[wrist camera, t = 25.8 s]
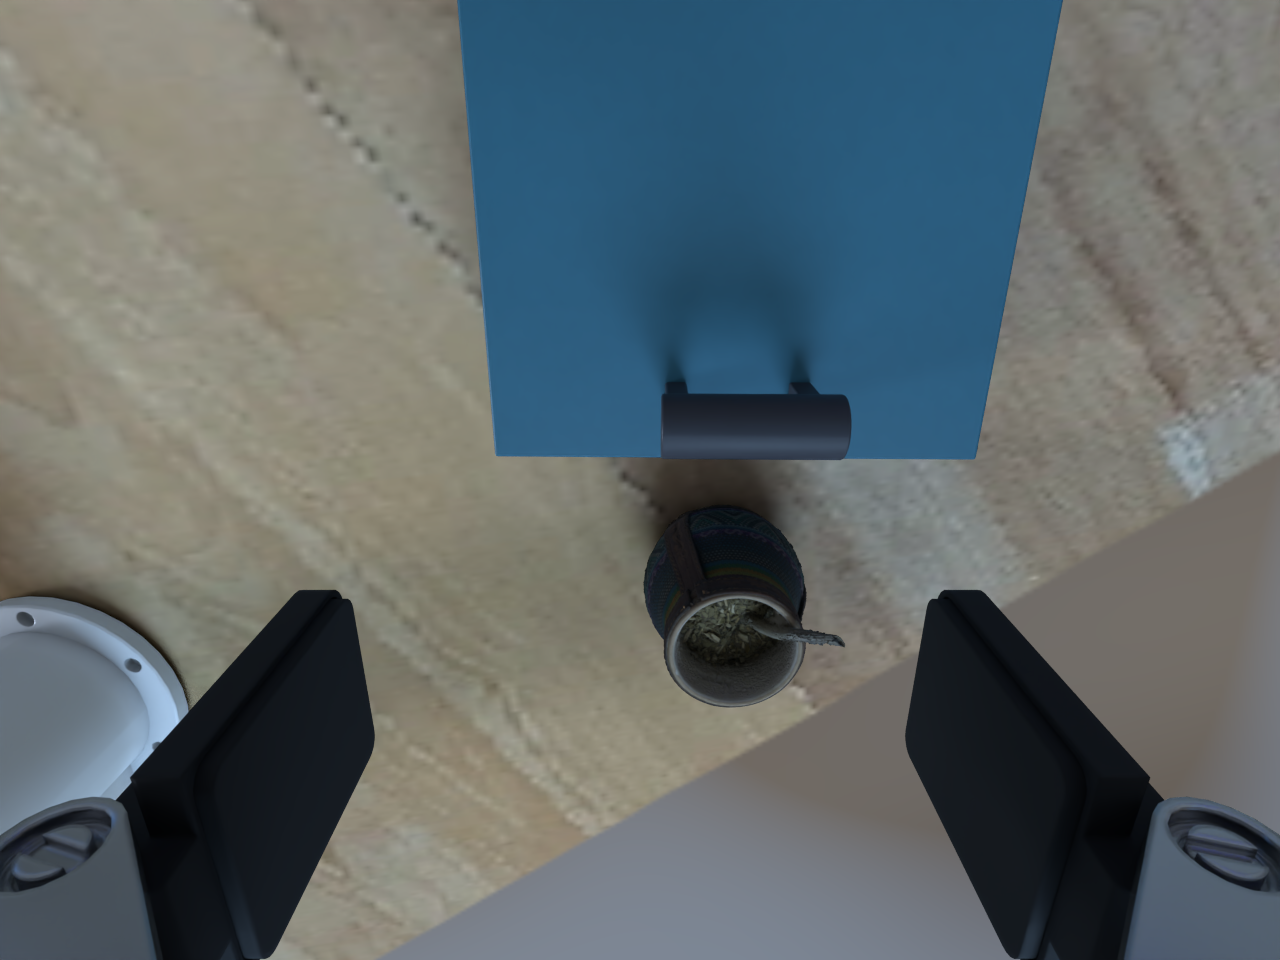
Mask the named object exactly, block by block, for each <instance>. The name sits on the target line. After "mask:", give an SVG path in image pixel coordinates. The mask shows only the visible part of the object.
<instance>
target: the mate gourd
mask: <svg viewBox="0 0 1280 960" xmlns="http://www.w3.org/2000/svg"><path fill="white" fill-rule="evenodd" d="M668 526H669V527H668V528H667V529H666V530H665V533H664V534H663V536H662V537H661V538H660V540H659V541H658V543H657V544H656V546H655V548H654V550H653V551H652V553H651V555H650V557H649V560H648V562H647V568H646V570H645V577H644V593H645V599H646V600H645V603H646V607H647V610H648V613H649V615H650V618H651V619H652V623H653V624H654V626H655V628H656V630H657V631H658V633H659V634H660V635H661V637H662V638H663V639H664V659H665V660H666V661H665V663H666V666H667V669H668V671H669V673H670V675H671V677H672V678H673V680H674V681H675V682H676V683H677V685H678V686H679V687H680V688H681V689H682V690H683V691H684V692H686V693H687V694H689V695H690V696H692V697H693V698H695V699H697V700H699V701H701V702H704V703H707V704H709V705H713V706H719V707H742V706H748V705H752V704H756V703H759V702H762V701H764V700H766V699H768V698H770V697H772V696H773V695H775V694H777V693H778V692H780V691H781V690H782V689H783V688H784V687H785V686H786V685H787V684H788V683H789V682H790V681H791V680H792V679H793V677H794V676H795V675H796V673H797V672H798V670H799V668H800V666H801V664H802V662H803V658H804V654H805V649H806V648H805V646H806V645H805V644H806V643H805V642H808V643H809V644H817V643H818V644H819V645H822V646H823V644H825V643H827V644H829V645H835V646H842V647H845V643H844V642H843V640H842V639H841V638H840V637H839V636H837V635H831V634H825V633H819V631H816V632H815V631H812V630H804V629H803V627H802V623H801V621H802V615H803V611H804V609H805V604H806V588H805V584H804V576H803V573H802V569H801V567H802V566H801V564H800V563H799V560H798V558H797V555H796V552H795V551H794V549H793V546H792V545H791V544H790V543H789V542H788V541H787V539H786V538H785V537H784V535H783V534H782V533H781V531H780V530H779V529H777V528H776V527H774V526H773V525H772V524H771V523H769V522H768V521H767V520H765V519H764V518H762V517H761V516H760V515H758V514H756V513H754V512H752V511H750V510H747V509H744V508H741V507H736V506H731V505H715V506H710V507H706V508H702V509H697V510H694V511H689V512H686V513H685V514H682V515H681V516H679V517H678V519H677V520H674V521H673V522H672V523H671V524H670V525H668Z"/></svg>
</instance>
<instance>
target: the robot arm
mask: <svg viewBox="0 0 1280 960" xmlns="http://www.w3.org/2000/svg"><path fill="white" fill-rule="evenodd" d="M905 739H906V747H907V751H908V754H909V757H910V759H911V761H912V763H913V765H914V767H915V769H916V771H917V773H918V775H919V777H920V779H921V781H922V783H923V785H924V787H925V789H926V791H927V793H928V795H929V797H930V799H931V801H932V803H933V805H934V807H935V809H936V812H937V814H938V816H939V818H940V820H941V822H942V824H943V826H944V828H945V830H946V832H947V834H948V836H949V838H950V840H951V842H952V844H953V846H954V848H955V850H956V852H957V854H958V856H959V858H960V860H961V862H962V864H963V866H964V868H965V870H966V872H967V874H968V876H969V879H970V881H971V883H972V884H973V887H974V889H975V891H976V893H977V895H978V897H979V899H980V901H981V903H982V905H983V907H984V909H985V911H986V913H987V915H988V917H989V919H990V921H991V923H992V925H993V927H994V929H995V931H996V933H997V935H998V937H999V939H1000V941H1001V943H1002V946H1003V947H1004V949H1005V951H1006V952H1007V953H1008V955H1009V956H1010V957H1012V958H1014V959H1020V960H1280V835H1279V834H1277V833H1276V832H1274V831H1273V830H1271V829H1270V828H1268V827H1267V826H1265V825H1264V824H1262V823H1261V822H1259V821H1258V820H1256V819H1254V818H1252V817H1250V816H1248V815H1246V814H1244V813H1242V812H1240V811H1238V810H1236V809H1234V808H1231V807H1228V806H1225V805H1222V804H1219V803H1216V802H1213V801H1210V800H1206V799H1199V798H1192V797H1175V798H1169V799H1167V800H1164V799H1163V798H1162V797H1161V796H1160V795H1159V794H1158V793H1157V791H1156V790H1155V789H1154V788H1153V787H1152V786H1151V785H1150V784H1149V780H1150V777H1149V776H1148V774H1147V773H1146V772H1145V771H1144V770H1143V769H1142V768H1141V767H1140V766H1139V764H1138V763H1137V762H1136V761H1135V760H1134V759H1133V758H1132V757H1131V755H1130V754H1129V753H1128V752H1127V751H1126V750H1125V749H1124V748H1123V747H1122V745H1121V744H1120V743H1119V742H1118V741H1117V740H1116V739H1115V738H1114V737H1113V735H1112V734H1111V733H1110V732H1109V731H1108V730H1107V729H1106V728H1105V727H1104V725H1103V724H1102V723H1101V722H1100V721H1099V720H1098V719H1097V718H1096V717H1095V715H1094V714H1093V713H1092V712H1091V711H1090V710H1089V709H1088V708H1087V706H1086V705H1085V704H1084V703H1083V702H1082V701H1081V700H1080V699H1079V698H1078V696H1077V695H1076V694H1075V693H1074V692H1073V691H1072V690H1071V689H1070V688H1069V686H1068V685H1067V684H1066V683H1065V682H1064V681H1063V680H1062V679H1061V678H1060V676H1059V675H1058V674H1057V673H1056V672H1055V671H1054V670H1053V669H1052V668H1051V666H1050V665H1049V664H1048V663H1047V662H1046V661H1045V660H1044V659H1043V658H1042V656H1041V655H1040V654H1039V653H1038V652H1037V651H1036V650H1035V649H1034V647H1033V646H1032V645H1031V644H1030V643H1029V642H1028V641H1027V640H1026V639H1025V637H1024V636H1023V635H1022V634H1021V633H1020V632H1019V631H1018V630H1017V629H1016V627H1015V626H1014V625H1013V624H1012V623H1011V622H1010V621H1009V620H1008V619H1007V617H1006V616H1005V615H1004V614H1003V613H1002V612H1001V611H1000V610H999V608H998V607H997V606H996V605H995V604H994V603H993V602H992V601H991V600H990V598H989V597H988V596H987V595H986V594H985V593H984V592H982V591H981V590H944V591H942V592H941V593H940V595H939V596H938V599H931V600H930V601H929V603H928V606H927V610H926V616H925V622H924V628H923V633H922V639H921V645H920V651H919V656H918V662H917V668H916V674H915V680H914V685H913V691H912V697H911V703H910V708H909V714H908V720H907V726H906V733H905ZM374 740H375V733H374V726H373V720H372V714H371V708H370V703H369V697H368V691H367V685H366V680H365V674H364V668H363V662H362V656H361V651H360V645H359V639H358V633H357V628H356V622H355V616H354V610H353V606H352V603H351V601H350V600H349V599H342V596H341V595H340V593H339V592H338V591H336V590H299V591H298V592H296V593H295V594H294V595H293V596H292V597H291V598H290V600H289V601H288V602H287V603H286V604H285V605H284V606H283V607H282V608H281V610H280V611H279V612H278V613H277V614H276V615H275V616H274V617H273V619H272V620H271V621H270V622H269V623H268V624H267V625H266V626H265V627H264V629H263V630H262V631H261V632H260V633H259V634H258V635H257V636H256V637H255V639H254V640H253V641H252V642H251V643H250V644H249V645H248V646H247V647H246V649H245V650H244V651H243V652H242V653H241V654H240V655H239V656H238V657H237V659H236V660H235V661H234V662H233V663H232V664H231V665H230V666H229V668H228V669H227V670H226V671H225V672H224V673H223V674H222V675H221V676H220V678H219V679H218V680H217V681H216V682H215V683H214V684H213V685H212V686H211V688H210V689H209V690H208V691H207V692H206V693H205V694H204V695H203V696H202V698H201V699H200V700H199V701H198V702H197V703H196V704H195V705H194V706H193V708H192V709H191V710H190V711H189V712H188V704H187V701H186V698H185V694H184V691H183V688H182V686H181V684H180V682H179V680H178V679H177V677H176V675H175V673H174V671H173V669H172V668H171V667H170V666H169V664H168V663H167V662H166V660H165V659H164V658H163V657H162V655H161V654H160V653H159V652H158V651H157V650H156V649H155V648H154V647H153V646H152V645H151V644H150V643H149V642H148V641H147V640H146V639H145V638H143V637H142V636H141V635H140V634H138V633H137V632H135V631H134V630H132V629H131V628H130V627H128V626H127V625H125V624H124V623H122V622H120V621H119V620H117V619H115V618H113V617H111V616H109V615H107V614H105V613H103V612H101V611H99V610H96V609H93V608H90V607H88V606H85V605H82V604H79V603H77V602H72V601H67V600H62V599H57V598H52V597H33V596H28V597H20V598H11V599H6V600H3V601H0V960H260V959H266V958H268V957H270V956H271V955H272V954H273V952H274V951H275V949H276V947H277V946H278V944H279V941H280V939H281V937H282V935H283V933H284V931H285V929H286V927H287V925H288V923H289V921H290V919H291V917H292V915H293V913H294V911H295V909H296V907H297V905H298V903H299V901H300V899H301V897H302V895H303V893H304V891H305V889H306V887H307V885H308V883H309V881H310V879H311V876H312V874H313V872H314V870H315V868H316V866H317V864H318V862H319V860H320V858H321V856H322V854H323V852H324V850H325V848H326V846H327V844H328V842H329V840H330V838H331V836H332V834H333V832H334V830H335V828H336V826H337V824H338V822H339V820H340V818H341V816H342V814H343V811H344V809H345V807H346V805H347V803H348V801H349V799H350V797H351V795H352V793H353V791H354V789H355V787H356V785H357V783H358V781H359V779H360V777H361V775H362V773H363V771H364V769H365V767H366V765H367V763H368V761H369V759H370V757H371V754H372V751H373V747H374ZM122 792H123V793H122ZM121 793H122V794H121ZM120 794H121V795H120ZM119 795H120V796H119Z"/></svg>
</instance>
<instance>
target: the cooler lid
mask: <svg viewBox="0 0 1280 960" xmlns="http://www.w3.org/2000/svg"><path fill="white" fill-rule="evenodd" d="M457 2H458V14H459V26H460V38H461V50H462V62H463V74H464V86H465V98H466V110H467V122H468V134H469V146H470V158H471V170H472V182H473V194H474V206H475V218H476V230H477V242H478V254H479V266H480V278H481V290H482V302H483V314H484V326H485V338H486V350H487V362H488V374H489V385H490V397H491V409H492V421H493V433H494V445H495V454H496V456H542V457H661V458H663V459H768V460H841V459H975V457H976V452H977V447H978V442H979V437H980V432H981V426H982V421H983V416H984V411H985V405H986V400H987V395H988V390H989V384H990V379H991V374H992V369H993V363H994V358H995V353H996V348H997V342H998V337H999V332H1000V327H1001V322H1002V316H1003V311H1004V306H1005V301H1006V295H1007V290H1008V285H1009V280H1010V274H1011V269H1012V264H1013V259H1014V253H1015V248H1016V243H1017V238H1018V232H1019V227H1020V222H1021V217H1022V212H1023V206H1024V201H1025V196H1026V191H1027V185H1028V180H1029V175H1030V170H1031V164H1032V159H1033V154H1034V149H1035V143H1036V138H1037V133H1038V128H1039V122H1040V117H1041V112H1042V107H1043V102H1044V96H1045V91H1046V86H1047V81H1048V75H1049V70H1050V65H1051V60H1052V54H1053V49H1054V44H1055V39H1056V33H1057V28H1058V23H1059V18H1060V12H1061V7H1062V2H1063V0H457Z"/></svg>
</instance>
